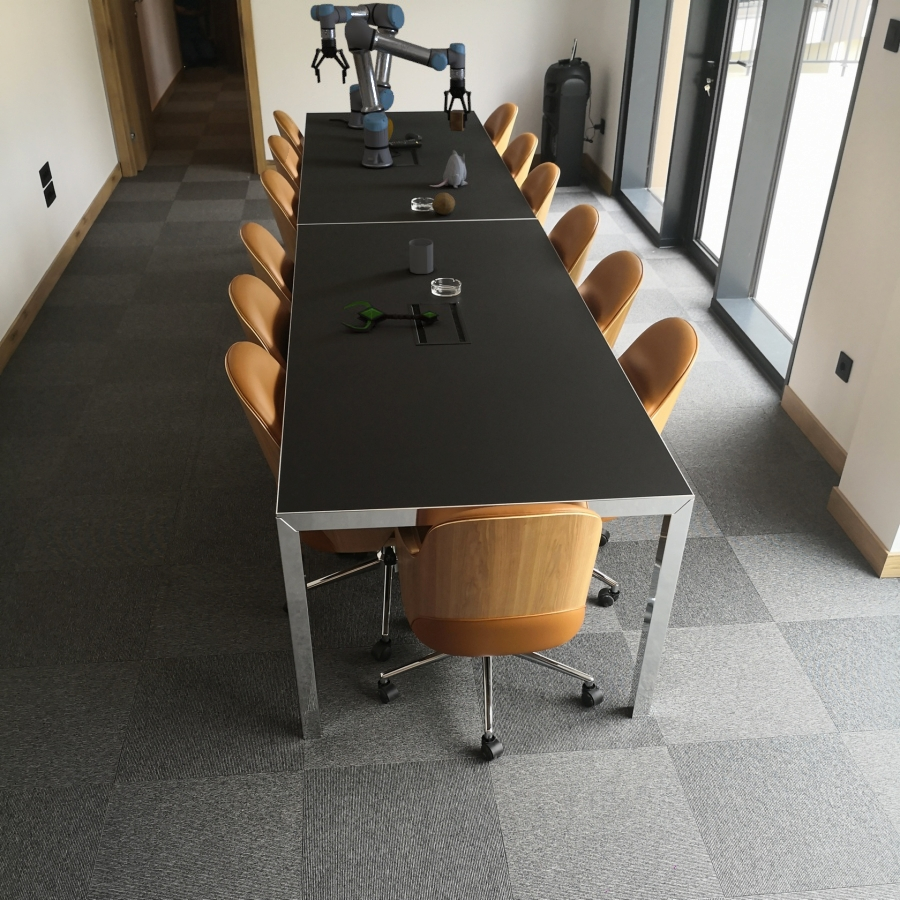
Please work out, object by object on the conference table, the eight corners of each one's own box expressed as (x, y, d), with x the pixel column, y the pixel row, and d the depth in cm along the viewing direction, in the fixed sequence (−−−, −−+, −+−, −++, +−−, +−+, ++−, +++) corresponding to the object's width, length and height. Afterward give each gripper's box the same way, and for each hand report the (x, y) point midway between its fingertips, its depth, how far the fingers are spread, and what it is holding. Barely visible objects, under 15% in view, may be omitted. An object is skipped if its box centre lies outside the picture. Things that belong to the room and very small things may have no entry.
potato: (453, 208, 369) (453, 189, 365) (456, 218, 357) (456, 199, 353) (431, 208, 368) (430, 189, 364) (432, 218, 356) (432, 199, 352)
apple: (392, 144, 462) (391, 119, 455) (372, 144, 462) (371, 119, 455) (394, 139, 471) (393, 115, 464) (374, 139, 471) (373, 115, 464)
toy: (472, 184, 399) (472, 151, 391) (436, 195, 384) (436, 161, 376) (457, 180, 404) (458, 147, 396) (422, 191, 389) (421, 157, 381)
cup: (409, 265, 311) (408, 238, 306) (432, 265, 312) (431, 238, 307) (410, 274, 304) (409, 246, 299) (433, 273, 305) (433, 246, 299)
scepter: (438, 296, 270) (341, 293, 268) (439, 326, 263) (340, 324, 261) (437, 309, 275) (342, 306, 273) (438, 339, 268) (341, 337, 266)
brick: (450, 130, 433) (450, 112, 428) (452, 128, 439) (452, 109, 434) (462, 131, 432) (462, 112, 427) (464, 128, 438) (464, 109, 433)
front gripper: (436, 78, 421) (437, 128, 433) (475, 80, 418) (475, 130, 430) (439, 76, 427) (440, 125, 439) (478, 77, 424) (477, 126, 436)
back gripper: (302, 38, 438) (306, 83, 450) (350, 40, 434) (352, 85, 446) (307, 36, 445) (311, 80, 456) (354, 38, 440) (356, 82, 452)
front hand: (457, 127), depth 435 cm, fingers closed on brick, 6 cm apart
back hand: (331, 83), depth 451 cm, fingers open, 13 cm apart
